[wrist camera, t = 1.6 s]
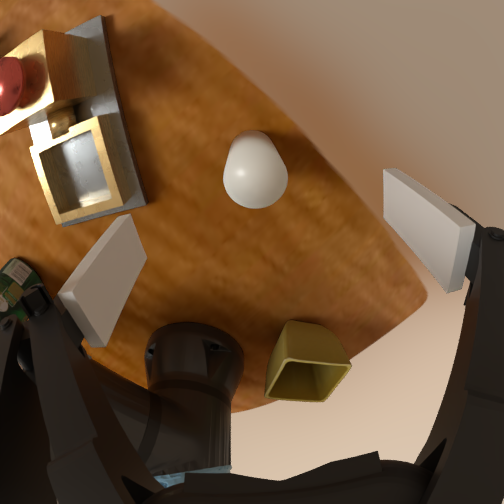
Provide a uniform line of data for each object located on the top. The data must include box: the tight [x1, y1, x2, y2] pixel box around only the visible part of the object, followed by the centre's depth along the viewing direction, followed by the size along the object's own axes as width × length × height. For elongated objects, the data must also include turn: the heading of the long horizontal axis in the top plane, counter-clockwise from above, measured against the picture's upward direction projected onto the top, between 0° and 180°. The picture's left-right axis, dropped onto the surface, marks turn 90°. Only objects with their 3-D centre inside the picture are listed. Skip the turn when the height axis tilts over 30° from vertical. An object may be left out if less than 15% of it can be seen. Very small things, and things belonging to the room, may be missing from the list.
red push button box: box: [0, 15, 149, 227], centre depth 21 cm, size 22×12×11 cm, turn 10°
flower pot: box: [264, 320, 352, 402], centre depth 38 cm, size 9×9×9 cm
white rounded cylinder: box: [223, 130, 288, 208], centre depth 24 cm, size 4×4×10 cm
